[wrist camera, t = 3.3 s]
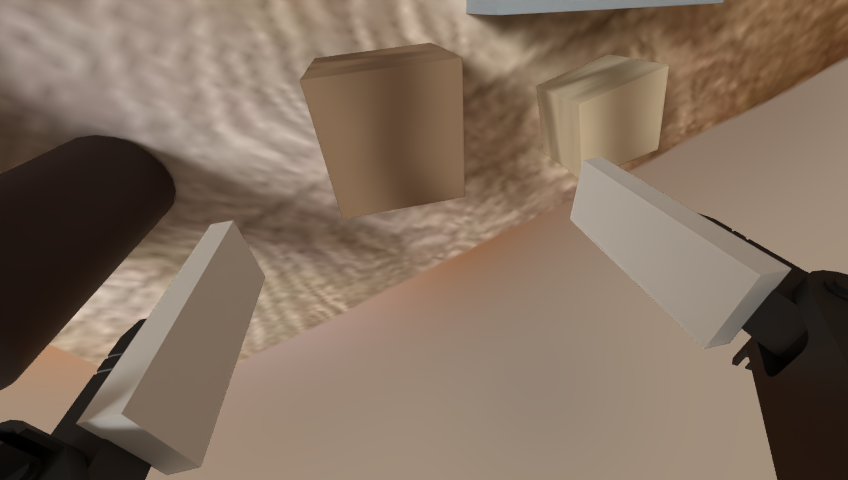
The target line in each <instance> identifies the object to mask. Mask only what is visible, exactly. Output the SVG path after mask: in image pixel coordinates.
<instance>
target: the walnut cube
mask: <svg viewBox="0 0 848 480" xmlns="http://www.w3.org/2000/svg"><path fill="white" fill-rule="evenodd" d="M300 83H301V86H302V89H303V92H304V95H305V99H306V102H307V105H308V108H309V112H310V115H311V118H312V121H313V125H314V128H315V131H316V134H317V138H318V141H319V144H320V147H321V151H322V154H323V157H324V160H325V164H326V167H327V170H328V173H329V177H330V180H331V183H332V186H333V190H334V193H335V196H336V199H337V202H338V206H339V209H340V212H341V215H342V219H346V218H351V217H357V216H362V215H368V214H373V213H379V212H384V211H390V210H395V209H401V208H406V207H412V206H417V205H423V204H428V203H434V202H439V201H445V200H450V199H456V198H461V197H465V189H464V131H463V73H462V57H460V56H458V55H456V54H454V53H451V52H449V51H447V50H445V49H443V48H440V47H438V46H436V45H434V44H432V43H426V44H418V45H411V46H403V47H396V48H388V49H381V50H373V51H366V52H359V53H351V54H344V55H336V56H329V57H321V58H315V59H314V60H313V62H312V63H311V65H310V66H309V68H308V69H307V70H306V72H305V73H304V75H303V76H302V78H301V79H300Z"/></svg>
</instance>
